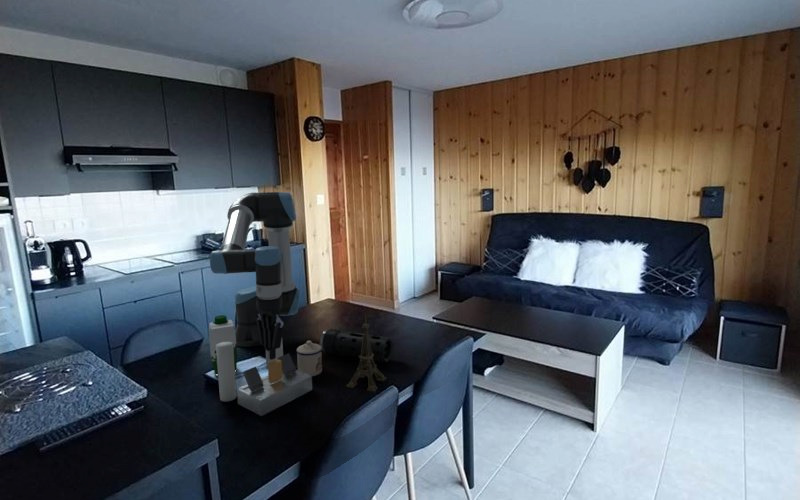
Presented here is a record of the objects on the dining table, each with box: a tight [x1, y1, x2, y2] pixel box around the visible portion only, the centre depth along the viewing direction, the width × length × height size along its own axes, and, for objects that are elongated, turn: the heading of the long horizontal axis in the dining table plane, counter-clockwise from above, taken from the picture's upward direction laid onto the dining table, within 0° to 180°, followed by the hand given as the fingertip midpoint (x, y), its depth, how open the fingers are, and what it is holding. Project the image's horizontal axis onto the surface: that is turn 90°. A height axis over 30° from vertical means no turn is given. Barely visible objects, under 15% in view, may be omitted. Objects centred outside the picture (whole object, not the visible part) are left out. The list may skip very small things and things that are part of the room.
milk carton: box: [208, 315, 238, 374], centre depth 158 cm, size 9×9×20 cm
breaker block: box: [236, 369, 313, 417], centre depth 140 cm, size 12×20×5 cm, turn 143°
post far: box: [275, 339, 284, 361], centre depth 153 cm, size 5×5×18 cm
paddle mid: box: [267, 359, 282, 384], centre depth 139 cm, size 2×4×7 cm, turn 144°
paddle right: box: [277, 353, 297, 376], centre depth 145 cm, size 2×4×7 cm
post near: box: [216, 342, 237, 402], centre depth 138 cm, size 5×5×18 cm
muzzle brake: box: [319, 328, 394, 364], centre depth 170 cm, size 10×28×10 cm, turn 68°
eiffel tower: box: [345, 312, 388, 393], centre depth 148 cm, size 11×11×25 cm
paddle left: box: [242, 366, 264, 392], centre depth 135 cm, size 2×4×7 cm
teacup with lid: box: [295, 340, 323, 377], centre depth 159 cm, size 12×9×12 cm
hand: (270, 367), depth 139 cm, fingers closed
